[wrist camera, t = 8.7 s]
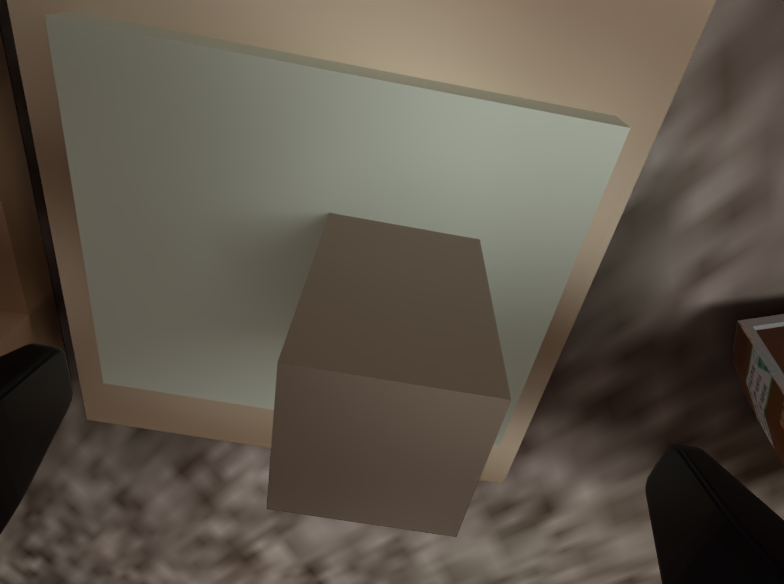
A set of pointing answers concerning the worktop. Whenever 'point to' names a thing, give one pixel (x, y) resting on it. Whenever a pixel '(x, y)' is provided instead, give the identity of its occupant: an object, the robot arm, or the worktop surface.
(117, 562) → the worktop surface
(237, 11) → the mat
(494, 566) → the worktop surface
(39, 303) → the box
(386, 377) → the lid
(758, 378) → the food container
